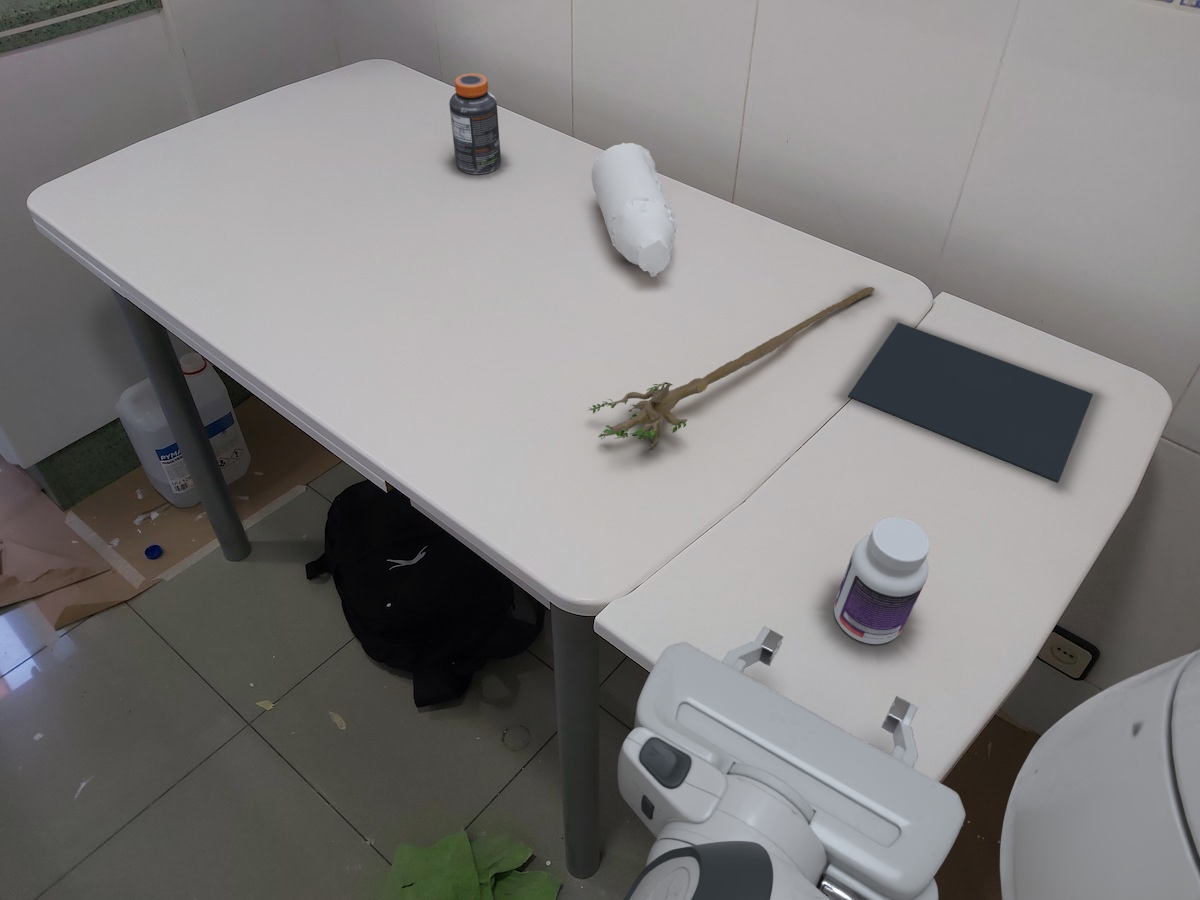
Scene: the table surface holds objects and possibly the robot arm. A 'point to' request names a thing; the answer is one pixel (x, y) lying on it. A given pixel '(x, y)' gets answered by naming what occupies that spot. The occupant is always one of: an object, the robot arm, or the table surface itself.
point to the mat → (975, 400)
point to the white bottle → (634, 206)
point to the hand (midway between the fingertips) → (837, 669)
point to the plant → (700, 384)
